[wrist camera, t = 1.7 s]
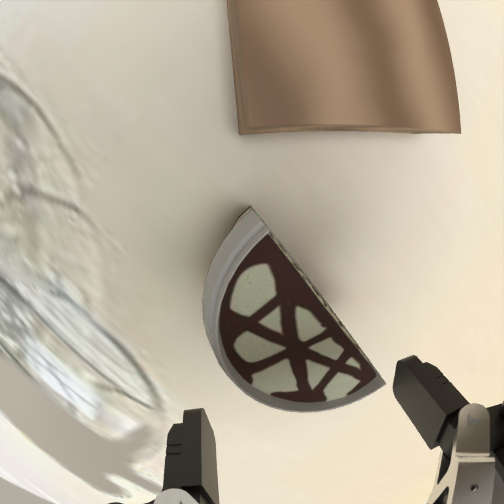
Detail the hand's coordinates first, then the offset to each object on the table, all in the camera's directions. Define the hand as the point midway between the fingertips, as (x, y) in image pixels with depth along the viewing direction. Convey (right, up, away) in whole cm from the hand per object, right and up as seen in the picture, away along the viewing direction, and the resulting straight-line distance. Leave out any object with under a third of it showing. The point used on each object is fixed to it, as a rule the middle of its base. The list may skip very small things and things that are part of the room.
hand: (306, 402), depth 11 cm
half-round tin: (-2, +4, +12) cm, 13 cm away
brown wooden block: (+3, +23, +7) cm, 24 cm away
